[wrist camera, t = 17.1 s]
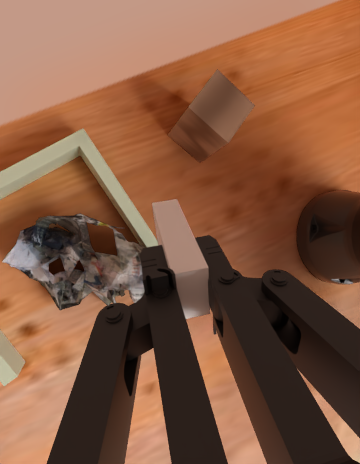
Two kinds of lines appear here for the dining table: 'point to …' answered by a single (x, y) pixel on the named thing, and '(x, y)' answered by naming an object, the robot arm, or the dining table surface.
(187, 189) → the dining table surface
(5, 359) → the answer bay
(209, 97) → the walnut block
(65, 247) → the grey crumpled lump
